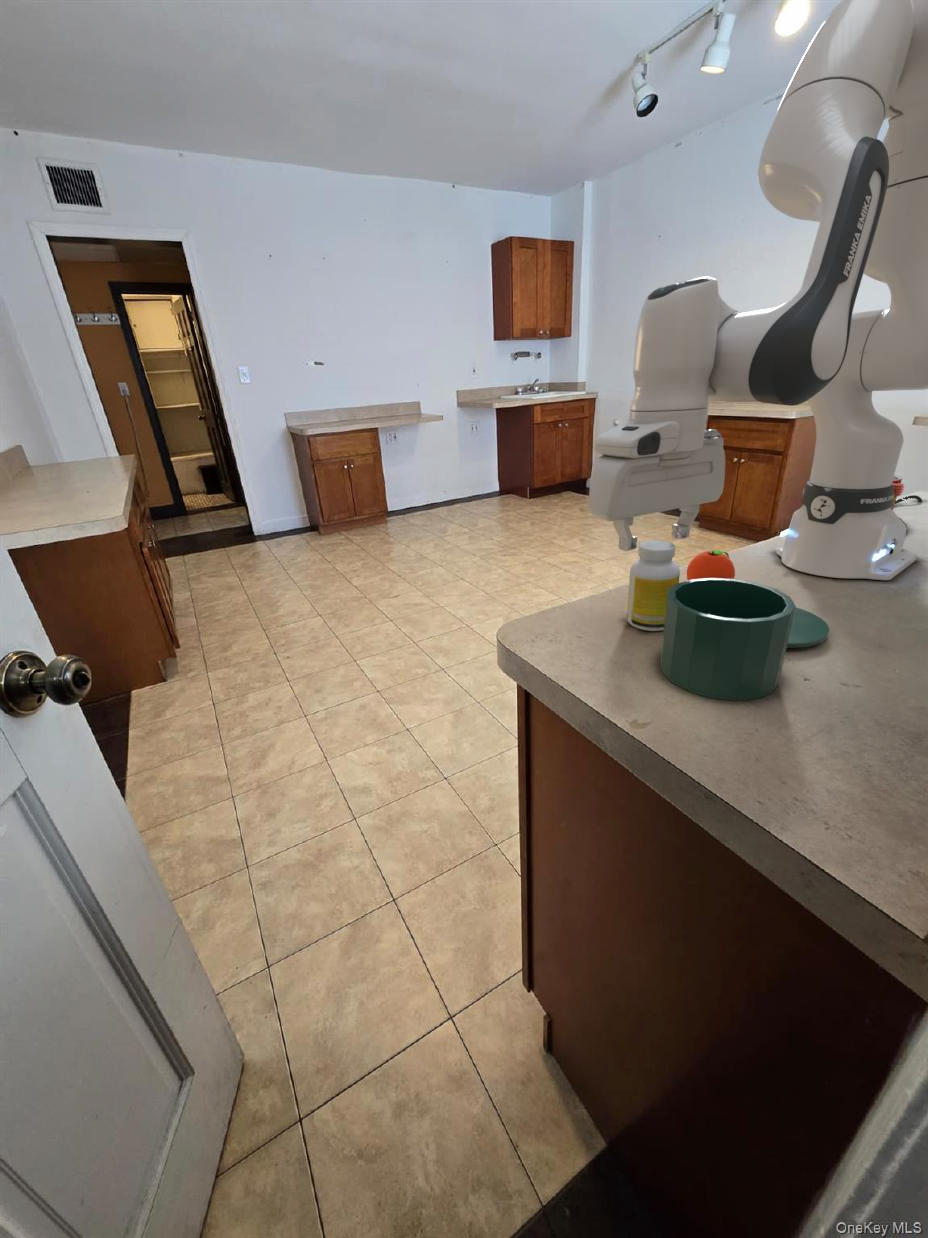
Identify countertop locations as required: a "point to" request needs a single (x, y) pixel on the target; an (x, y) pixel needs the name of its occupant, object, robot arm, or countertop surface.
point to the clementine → (711, 566)
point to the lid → (806, 629)
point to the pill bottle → (651, 584)
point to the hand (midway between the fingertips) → (654, 543)
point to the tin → (725, 637)
